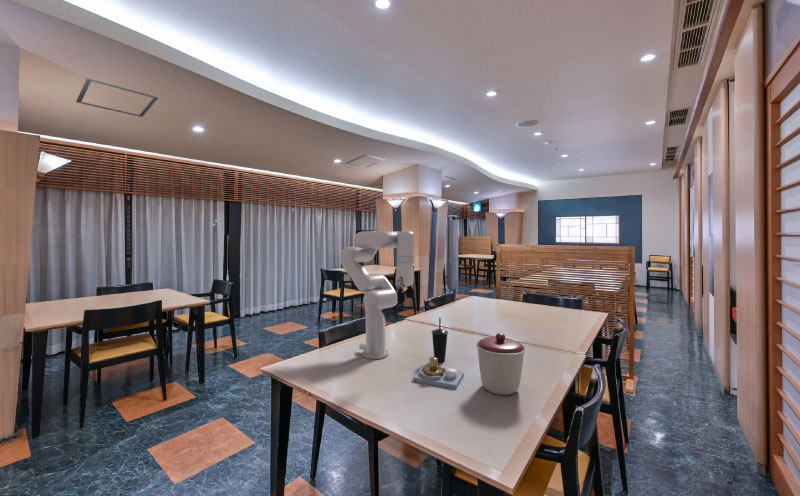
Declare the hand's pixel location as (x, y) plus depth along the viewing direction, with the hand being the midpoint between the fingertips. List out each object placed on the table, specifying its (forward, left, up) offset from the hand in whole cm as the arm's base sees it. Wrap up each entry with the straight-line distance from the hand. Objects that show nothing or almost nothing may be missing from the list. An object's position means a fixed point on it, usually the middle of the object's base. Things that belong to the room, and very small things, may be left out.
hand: (405, 299), depth 141 cm
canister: (+40, -3, -31) cm, 50 cm away
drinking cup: (+11, +15, -31) cm, 36 cm away
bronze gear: (+14, -3, -29) cm, 32 cm away
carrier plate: (+16, -3, -30) cm, 35 cm away
